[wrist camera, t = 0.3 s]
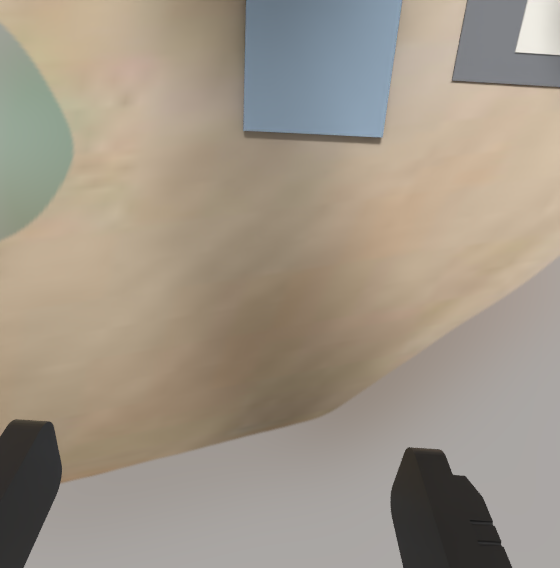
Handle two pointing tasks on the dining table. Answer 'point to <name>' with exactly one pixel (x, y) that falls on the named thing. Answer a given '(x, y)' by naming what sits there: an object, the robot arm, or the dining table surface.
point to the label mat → (510, 42)
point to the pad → (319, 65)
